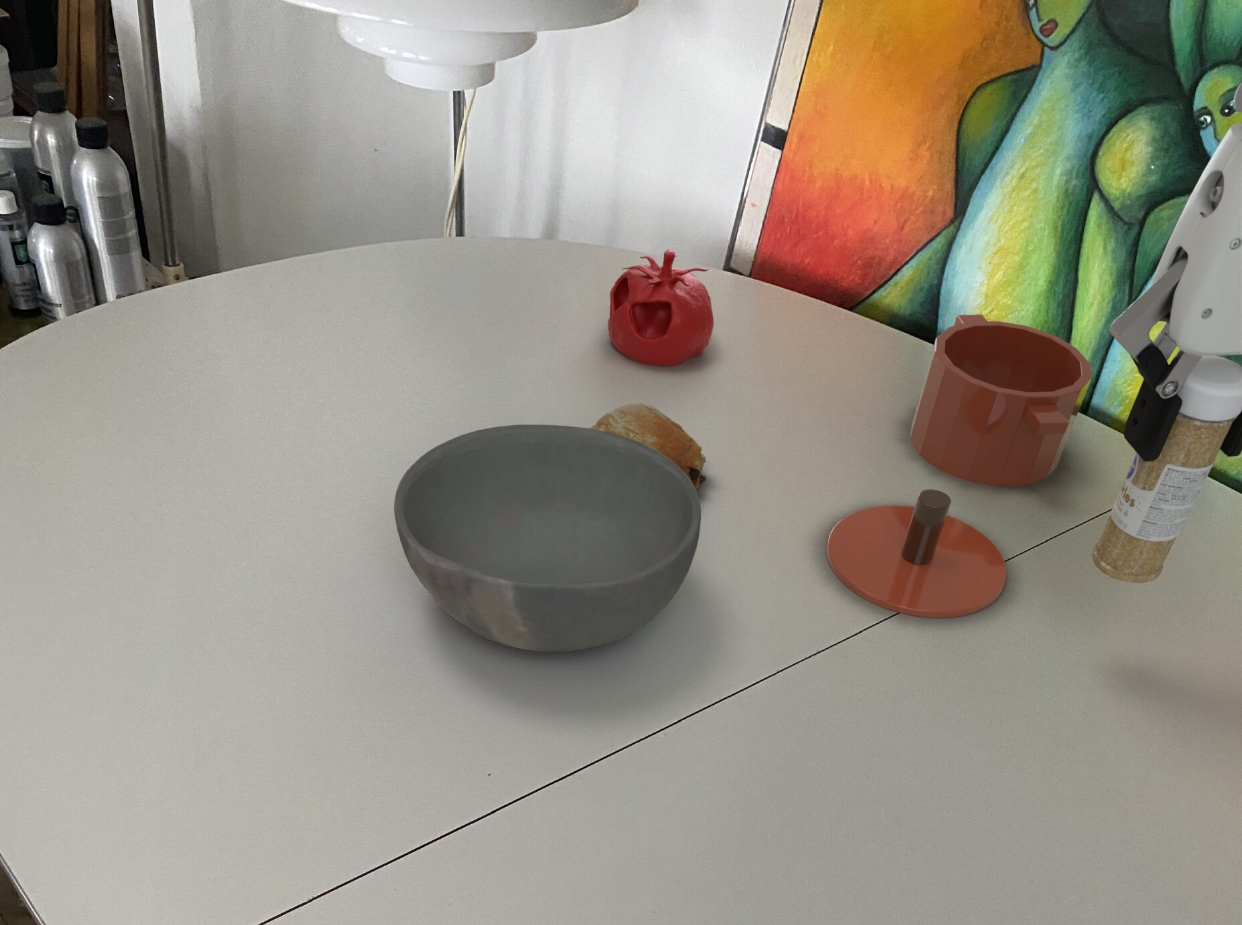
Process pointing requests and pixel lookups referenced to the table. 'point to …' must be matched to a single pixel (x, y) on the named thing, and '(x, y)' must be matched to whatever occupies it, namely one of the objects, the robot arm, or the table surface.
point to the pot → (998, 402)
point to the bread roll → (656, 436)
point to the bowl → (548, 533)
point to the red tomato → (660, 313)
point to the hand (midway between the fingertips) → (1181, 444)
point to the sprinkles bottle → (1170, 475)
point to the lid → (917, 559)
